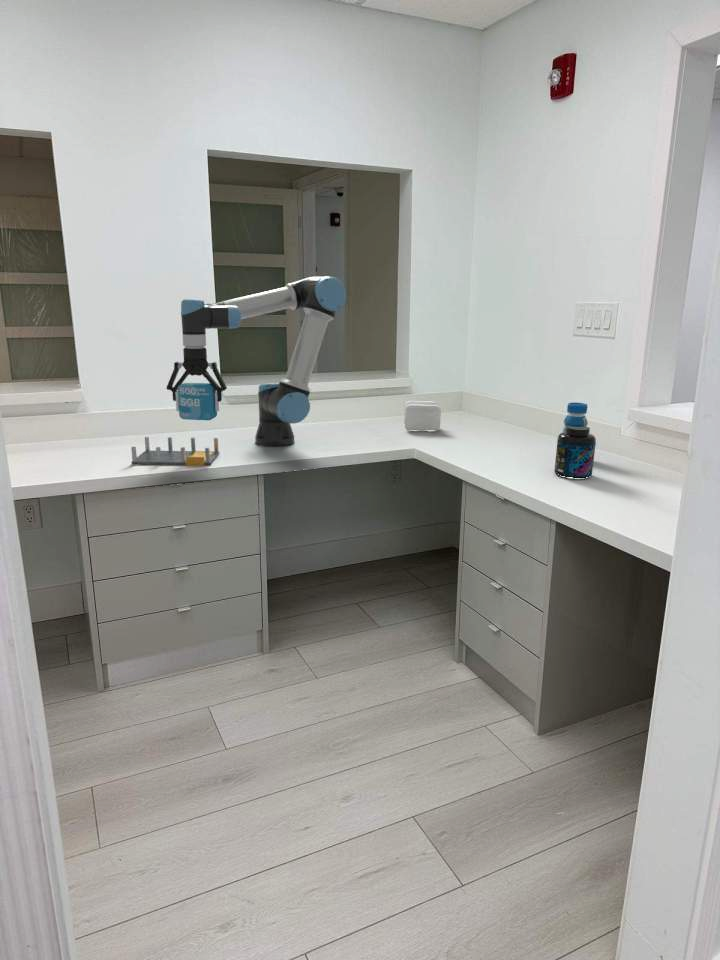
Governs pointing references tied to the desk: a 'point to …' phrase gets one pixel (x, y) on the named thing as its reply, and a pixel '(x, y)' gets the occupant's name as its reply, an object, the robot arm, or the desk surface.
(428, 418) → the cable organizer
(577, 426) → the container
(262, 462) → the desk surface
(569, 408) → the beverage bottle
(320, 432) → the desk surface
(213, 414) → the data package
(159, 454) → the panel rack
